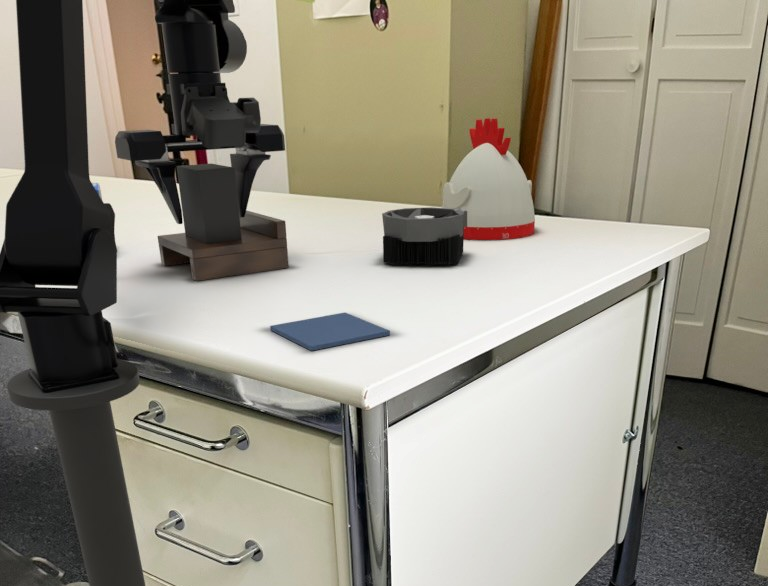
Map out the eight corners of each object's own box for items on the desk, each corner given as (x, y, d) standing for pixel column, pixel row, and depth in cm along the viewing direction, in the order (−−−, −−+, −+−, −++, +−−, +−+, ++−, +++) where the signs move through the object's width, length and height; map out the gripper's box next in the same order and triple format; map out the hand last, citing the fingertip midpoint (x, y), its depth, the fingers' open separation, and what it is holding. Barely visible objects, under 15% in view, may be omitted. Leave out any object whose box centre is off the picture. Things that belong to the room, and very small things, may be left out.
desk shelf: (196, 281, 93) (189, 231, 90) (161, 264, 102) (154, 218, 99) (289, 267, 99) (285, 220, 96) (248, 253, 108) (244, 209, 105)
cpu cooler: (375, 217, 95) (390, 205, 104) (376, 266, 98) (390, 250, 107) (462, 217, 94) (469, 205, 102) (460, 268, 96) (468, 252, 105)
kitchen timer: (493, 221, 127) (498, 115, 120) (554, 232, 117) (562, 117, 110) (421, 230, 121) (421, 119, 113) (478, 243, 110) (482, 122, 103)
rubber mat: (311, 350, 68) (310, 346, 68) (270, 330, 74) (269, 325, 74) (390, 335, 72) (390, 330, 72) (345, 316, 78) (345, 312, 78)
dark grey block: (206, 244, 95) (197, 170, 91) (185, 236, 100) (176, 166, 96) (241, 239, 97) (234, 167, 93) (219, 232, 102) (211, 163, 98)
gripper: (133, 73, 79) (158, 238, 87) (302, 70, 88) (311, 220, 96) (102, 75, 88) (127, 225, 95) (258, 72, 96) (270, 210, 104)
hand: (211, 220), depth 97 cm, fingers open, 8 cm apart
